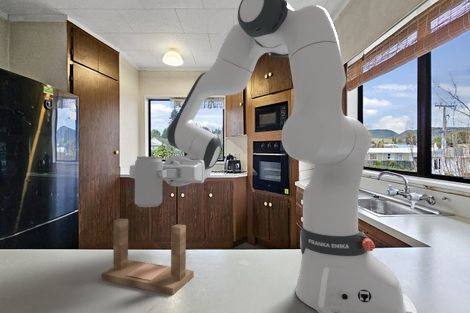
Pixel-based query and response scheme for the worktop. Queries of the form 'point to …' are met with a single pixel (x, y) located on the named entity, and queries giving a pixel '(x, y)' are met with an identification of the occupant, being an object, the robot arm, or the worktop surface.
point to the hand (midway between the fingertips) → (146, 173)
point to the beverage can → (148, 181)
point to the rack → (148, 273)
